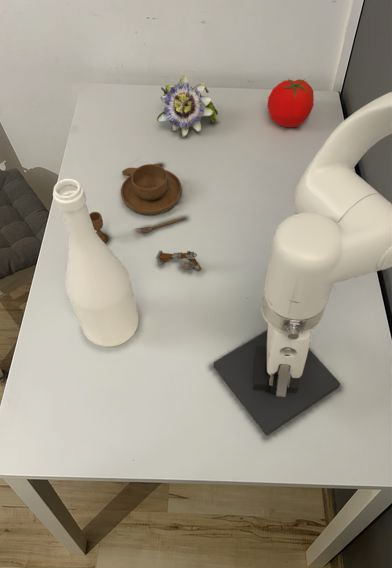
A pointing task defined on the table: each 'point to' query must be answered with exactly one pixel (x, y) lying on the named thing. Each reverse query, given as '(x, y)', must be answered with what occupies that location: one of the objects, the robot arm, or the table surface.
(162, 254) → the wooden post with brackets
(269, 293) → the robot arm
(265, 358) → the black block
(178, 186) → the place setting
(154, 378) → the table surface
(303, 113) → the tomato
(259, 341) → the base pad
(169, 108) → the passion flower
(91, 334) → the wine bottle
